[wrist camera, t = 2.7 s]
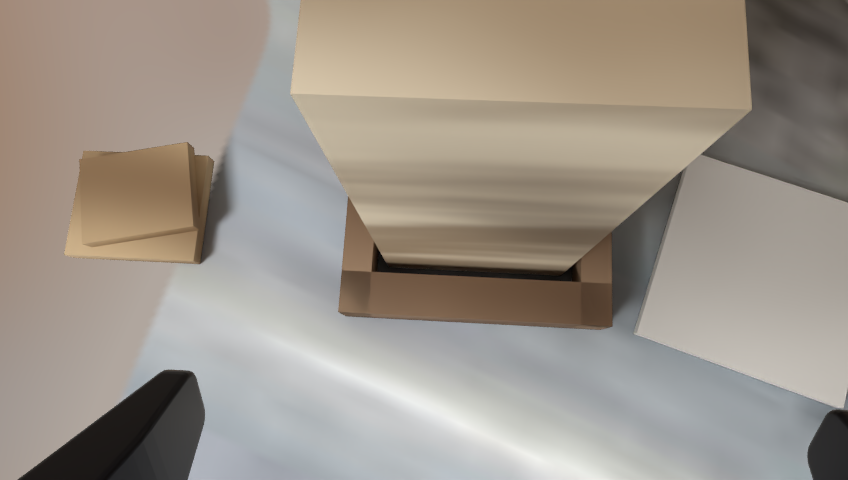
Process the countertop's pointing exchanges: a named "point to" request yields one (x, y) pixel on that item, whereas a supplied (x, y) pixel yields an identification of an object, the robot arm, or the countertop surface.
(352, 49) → the tan wooden block
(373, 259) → the walnut rack
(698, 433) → the countertop surface
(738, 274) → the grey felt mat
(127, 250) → the oak offcuts
